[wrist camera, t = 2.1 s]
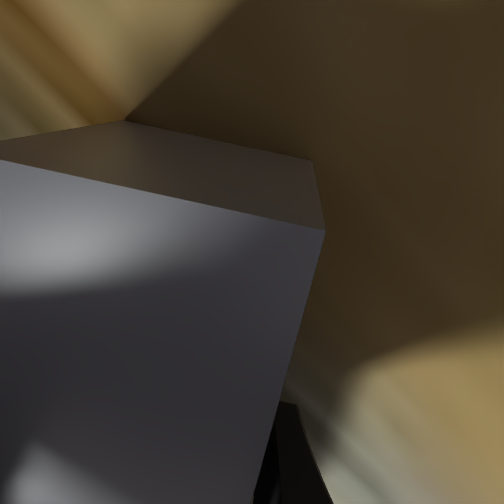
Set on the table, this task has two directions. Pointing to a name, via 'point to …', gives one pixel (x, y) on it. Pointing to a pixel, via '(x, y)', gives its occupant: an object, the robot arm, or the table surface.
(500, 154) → the table surface
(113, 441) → the glasses case
